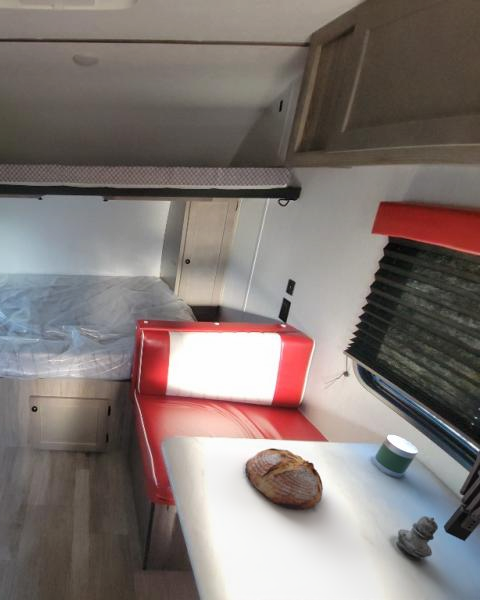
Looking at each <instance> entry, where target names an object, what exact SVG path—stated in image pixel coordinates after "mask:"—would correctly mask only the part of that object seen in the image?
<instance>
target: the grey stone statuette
mask: <svg viewBox="0 0 480 600" xmlns="http://www.w3.org/2000/svg"><path fill="white" fill-rule="evenodd" d="M411 526H412V528H411V529H410V530H408V529H403V528H402V529H399V530H398V532H397V540H396V541H395V542H394V543H395V546H396V549H397V550H398V552H400V553H401V555H403V556H404V557H406V558H407V559H408V560H411V561H413V562H417V563H418V562H421V561H422V558H423V559H424V558H427V557H430V556H432V554H433V550H432V548H431V547H430V545H429V544H428V543H429V542H430V541H433V540H434V538H435V537H434V534H435V533H436V532H437V531H438V529H439V525H438V524H437V522H436V521H435V518H434V517H429V516H425V515H424V516H421V517H420V518H419V520H418V521H417V522H415V523H412V525H411Z"/></svg>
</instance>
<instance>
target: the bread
mask: <svg viewBox="0 0 480 600" xmlns="http://www.w3.org/2000/svg"><path fill="white" fill-rule="evenodd" d="M244 470H245V474H246V475H245V476H246V477H248V479H249V480H250V483H251V485H252V486H254V487H255V489H257V490H258V491H259V492H260V493H261V494H262V495H264V496H265V497H266V498H268V500H270V501H272V502H273V503H274V504H276V505H278V506H280V507H284V508H288V509H293V510H307V509H312V508H313V507H315V506H317V504H318V503H320V502H321V500H322V496H323V490H324V488H323V486H324V485H323V481H322V478H321V475H320V474H319V472H318V470H317V469H316V468H315V464H314V463H313V462H309V460H305V459H303V458H302V456H300V455H297V454H294V453H293V452H292V451H289V450H288V449H282V448H273V447H270V448H266V449H264V450H261V451H259V452H257V453H256V454H255V455H254V456H252V457H250V458H249V459H248V460H247V461H246V462H245V468H244Z"/></svg>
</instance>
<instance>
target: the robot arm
mask: <svg viewBox="0 0 480 600" xmlns="http://www.w3.org/2000/svg"><path fill="white" fill-rule="evenodd" d="M459 494H460V495H461V496H462V498H461V499H460V502H461V504H460V505H459V506H458V507H457V509H456V510H455V511H454V512H453V514H452V515H451V516H450V518H449V519H448V520H447V521H446V522H445V524H444V525H443V529H444V531H445V533H446V534H448V535H450V536H453V537H454V538H457V539H459V540H460V541H462V542H465V541H466V540H467V539H468V538H469V537H470V536H471V535H472V533H473V532H474V531H475V530H476V529H477V528H478V527H479V525H480V450H478V453H477V456H476V460H475V462H474V464H473V465H472V467H471V469H470V471H469V473H468V475H467V476H466V479H465V481H464V482H463V484H462V486H461V488H460V489H459Z"/></svg>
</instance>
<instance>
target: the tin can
mask: <svg viewBox="0 0 480 600" xmlns="http://www.w3.org/2000/svg"><path fill="white" fill-rule="evenodd" d="M418 452H419V450H418V448H417V447H416V446H415V445H414V443H412V442H410V441H409V440H407V439H405V438H403V437H401V436H398V435H394V434H388V435H387V436H386V437H385V439H384V440H383V442H382V444H381V445H380V447H379V449H378V451H377V452H376V453H375V455H374V457H373V459H372V462H373V464H374V466H375V467H376V468H377V469H378V470H380V471H381V472H383V473H384V474H386V475H387V476H391V477H393V478H402V477H403V476H404V474H405V473H406V471H407V469H408V468H409V466H410V465H411V463H412V462H413V460H414V459H415V458H416V455H417V454H418Z"/></svg>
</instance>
